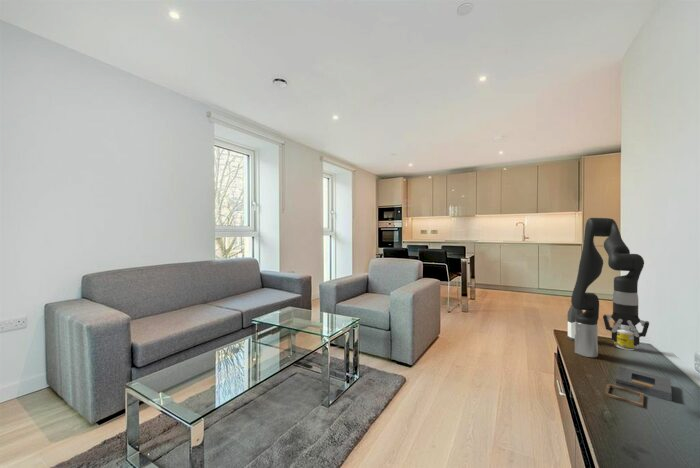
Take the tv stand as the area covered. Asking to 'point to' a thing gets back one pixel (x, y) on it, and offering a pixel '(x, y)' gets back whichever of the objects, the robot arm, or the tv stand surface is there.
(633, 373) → the socket plate
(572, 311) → the wine bottle
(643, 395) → the cradle
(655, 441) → the tv stand surface
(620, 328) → the supplement bottle
